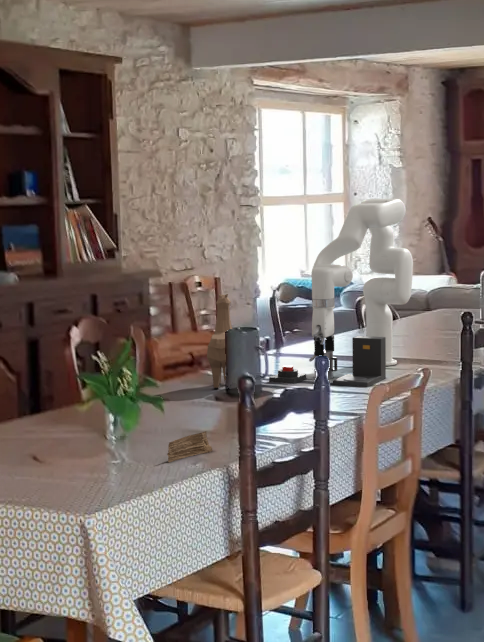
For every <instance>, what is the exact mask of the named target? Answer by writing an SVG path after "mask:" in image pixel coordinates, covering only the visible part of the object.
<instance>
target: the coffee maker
mask: <svg viewBox="0 0 484 642" xmlns="http://www.w3.org/2000/svg"><path fill="white" fill-rule="evenodd" d="M351 343H352V374H351V373H347V374H344V375H342V376H340V377H338V378H334V379H333V380H332V385H333V386H345V387H359V388H361V387H362V388H368V387H371V386H373V385H375V384H377V383H379V382H381V381H383V380H385V379H386V378H387V377H386V374H387V372H386V371H387V370H386V369H387V366H386V337H371V336H366V335H356V336H353V337H352V342H351Z"/></svg>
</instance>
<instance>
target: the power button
mask: <svg viewBox="0 0 484 642" xmlns="http://www.w3.org/2000/svg"><path fill="white" fill-rule="evenodd" d="M281 369H282V371H293V369H294V365H282V367H281Z"/></svg>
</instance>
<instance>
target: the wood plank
mask: <svg viewBox="0 0 484 642" xmlns="http://www.w3.org/2000/svg"><path fill="white" fill-rule="evenodd" d="M167 452H168V453H166V455H167V462H168V463H172V462H175V461H179V460H182V459H186V458H188V457H192V456H193V457H194V456H196V455H202V454H206V453H211V452H213V447H212V446H211V445H210V442H209V440H208V436H207V430H206V431H202V432H198V433H195V434H190V435H187V436H183V437H180V438H177V439H174V440H172V441H170V442H169V443H168V448H167Z"/></svg>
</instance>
